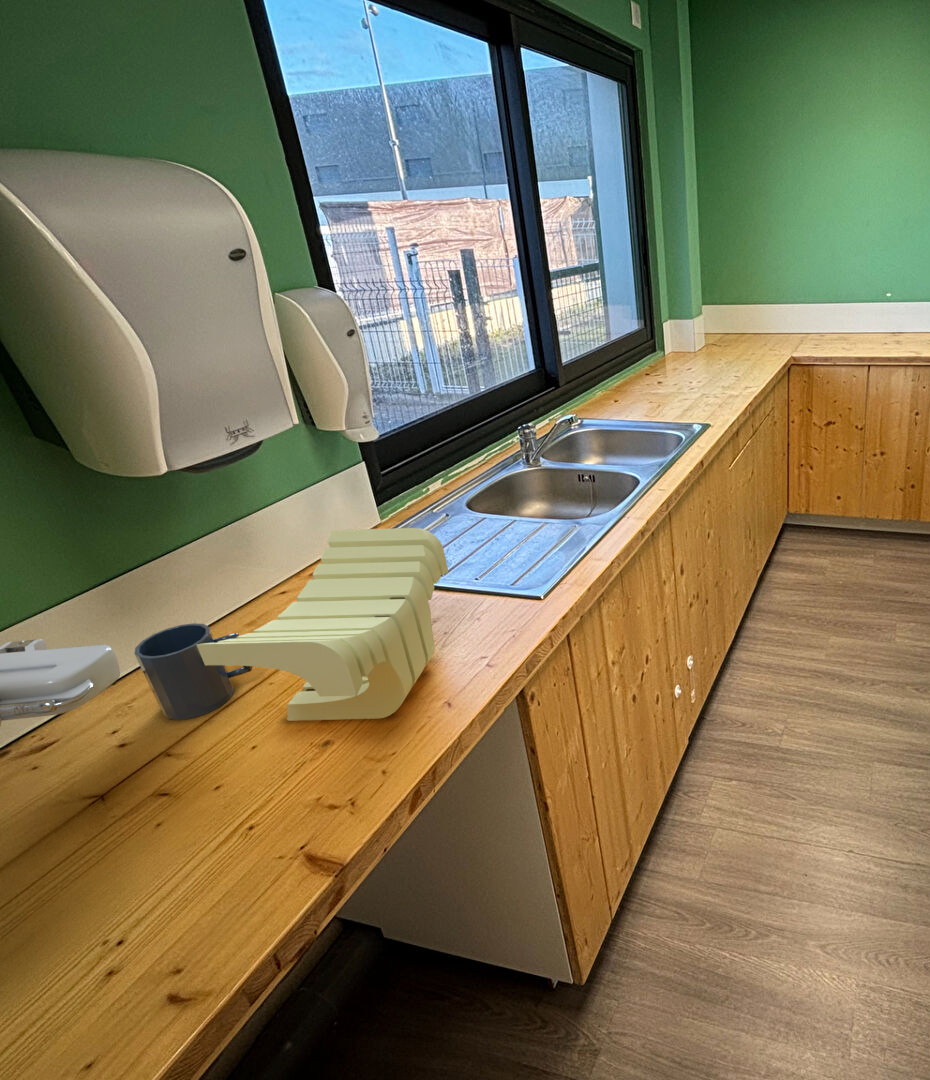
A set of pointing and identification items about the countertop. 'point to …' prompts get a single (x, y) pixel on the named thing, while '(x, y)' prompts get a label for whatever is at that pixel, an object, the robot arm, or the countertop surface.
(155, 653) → the mug
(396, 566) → the slatted lounge chair
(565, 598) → the countertop surface
